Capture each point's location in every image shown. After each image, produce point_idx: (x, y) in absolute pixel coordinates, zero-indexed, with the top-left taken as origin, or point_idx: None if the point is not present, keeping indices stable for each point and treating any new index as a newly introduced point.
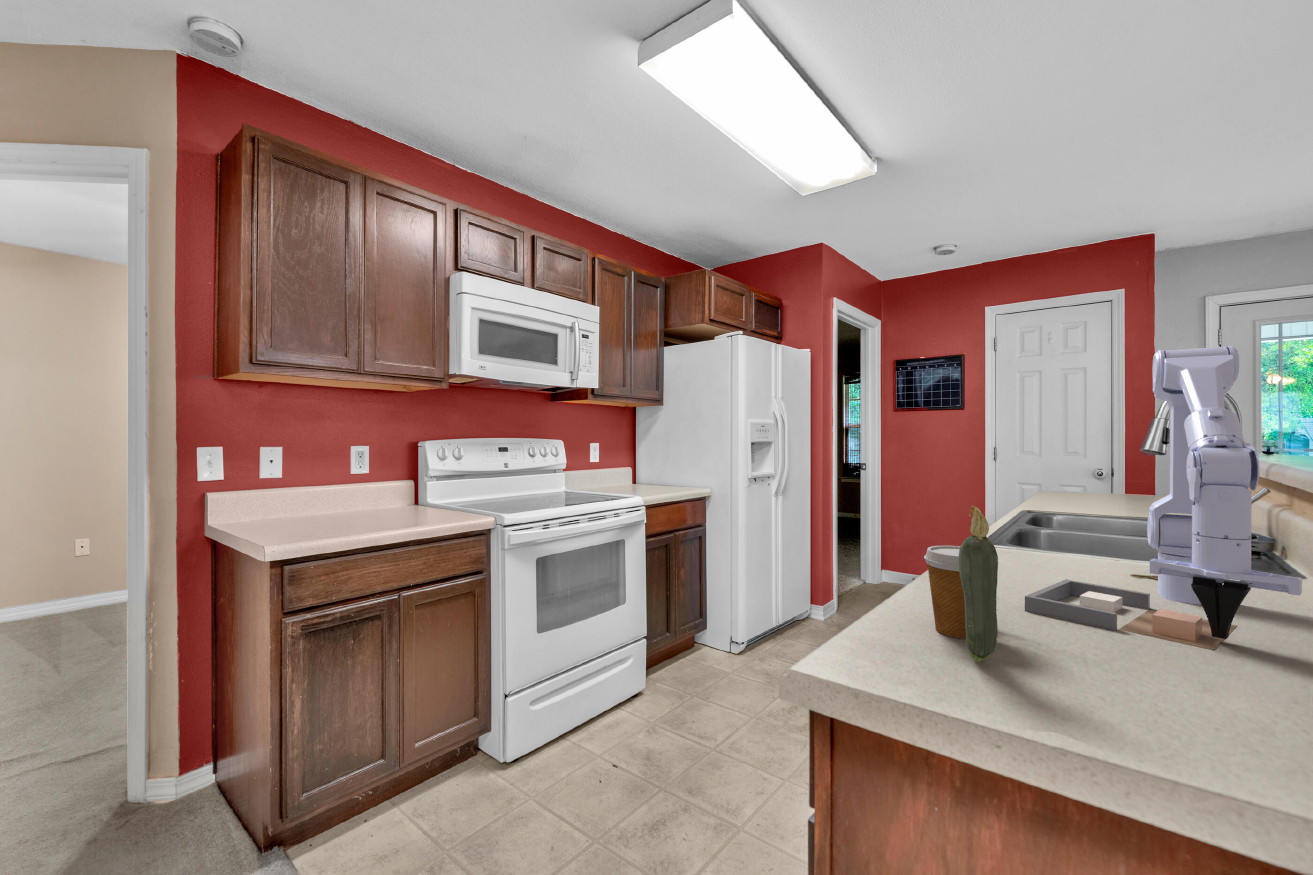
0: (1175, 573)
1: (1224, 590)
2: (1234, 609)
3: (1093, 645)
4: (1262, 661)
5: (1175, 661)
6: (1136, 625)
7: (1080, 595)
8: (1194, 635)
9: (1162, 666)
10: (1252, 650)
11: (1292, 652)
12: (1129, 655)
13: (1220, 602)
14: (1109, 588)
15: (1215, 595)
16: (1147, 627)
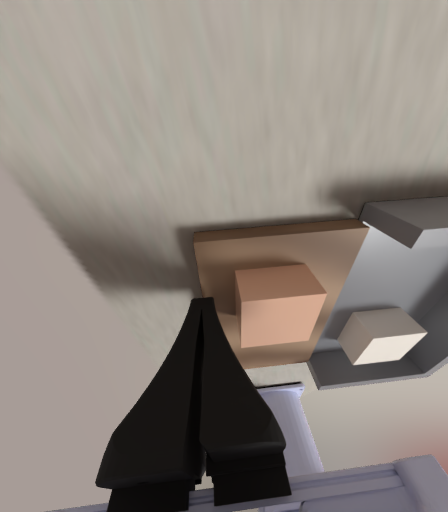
0: (349, 487)
1: (161, 456)
2: (158, 371)
3: (441, 67)
4: (148, 286)
5: (242, 128)
6: (330, 283)
7: (425, 333)
8: (237, 279)
9: (260, 2)
10: (179, 321)
11: (151, 346)
12: (350, 51)
13: (189, 384)
14: (370, 379)
15: (202, 411)
16: None
